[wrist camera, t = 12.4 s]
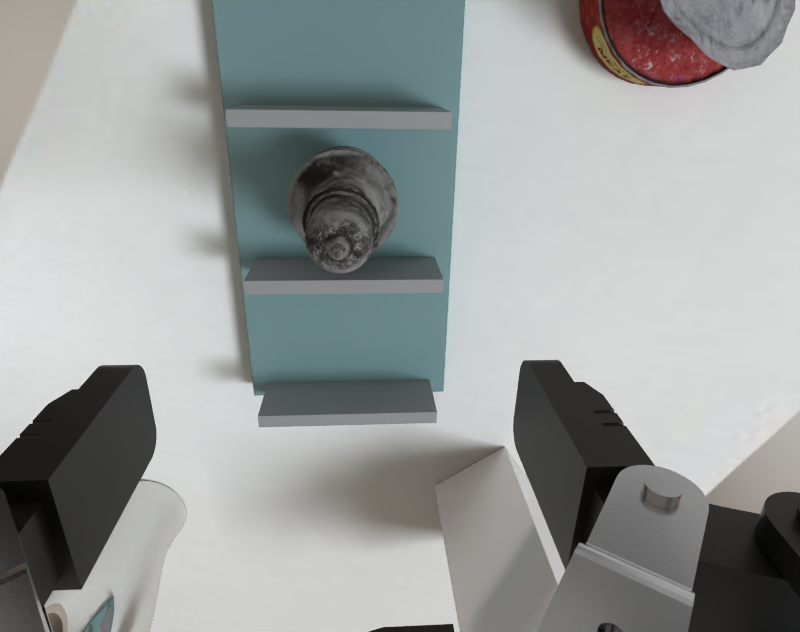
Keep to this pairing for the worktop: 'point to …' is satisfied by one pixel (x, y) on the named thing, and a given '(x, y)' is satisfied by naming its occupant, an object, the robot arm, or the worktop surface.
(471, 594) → the soap dispenser
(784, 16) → the canned food
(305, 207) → the grey chess piece
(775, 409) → the worktop surface
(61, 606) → the beer glass
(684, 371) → the worktop surface
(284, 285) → the rack
